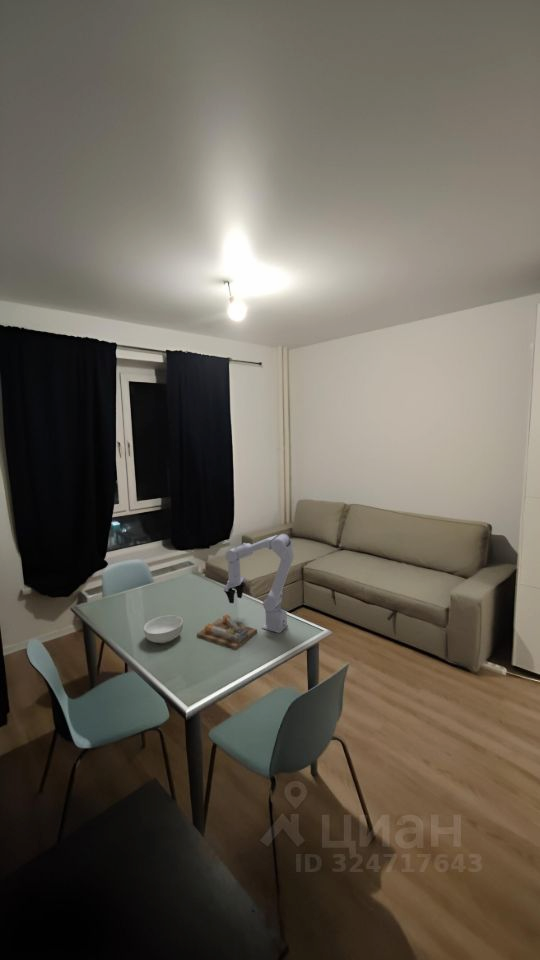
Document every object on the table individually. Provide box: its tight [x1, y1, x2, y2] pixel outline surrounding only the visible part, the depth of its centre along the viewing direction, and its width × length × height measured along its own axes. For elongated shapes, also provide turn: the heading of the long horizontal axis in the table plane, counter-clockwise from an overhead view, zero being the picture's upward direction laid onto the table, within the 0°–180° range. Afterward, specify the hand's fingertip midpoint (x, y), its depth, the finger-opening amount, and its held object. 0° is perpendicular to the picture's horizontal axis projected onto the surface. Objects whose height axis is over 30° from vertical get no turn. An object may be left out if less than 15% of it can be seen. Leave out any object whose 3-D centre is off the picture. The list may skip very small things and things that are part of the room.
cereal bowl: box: [143, 614, 184, 644], centre depth 171 cm, size 17×17×7 cm
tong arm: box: [222, 614, 242, 634], centre depth 175 cm, size 18×3×3 cm, turn 28°
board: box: [196, 618, 258, 651], centre depth 173 cm, size 22×16×2 cm
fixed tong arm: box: [204, 623, 248, 643], centre depth 170 cm, size 19×7×3 cm, turn 58°
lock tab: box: [226, 627, 237, 634], centre depth 166 cm, size 3×4×1 cm
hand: (235, 600), depth 185 cm, fingers open, 6 cm apart
